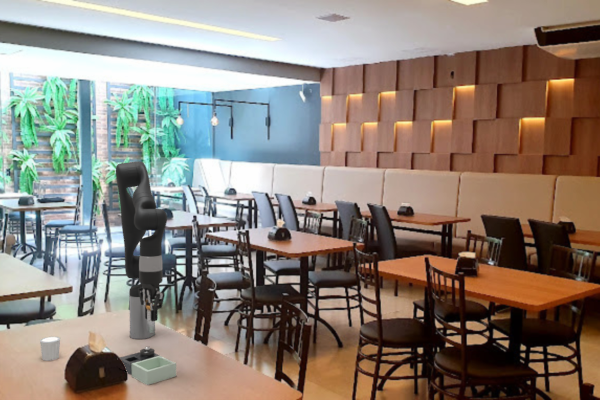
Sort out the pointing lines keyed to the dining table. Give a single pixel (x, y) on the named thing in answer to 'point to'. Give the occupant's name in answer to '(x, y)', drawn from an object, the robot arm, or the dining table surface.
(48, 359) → the white ribbed cylinder
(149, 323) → the lock pin
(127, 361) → the dark grey holder block
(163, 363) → the parts tray
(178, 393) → the dining table surface
